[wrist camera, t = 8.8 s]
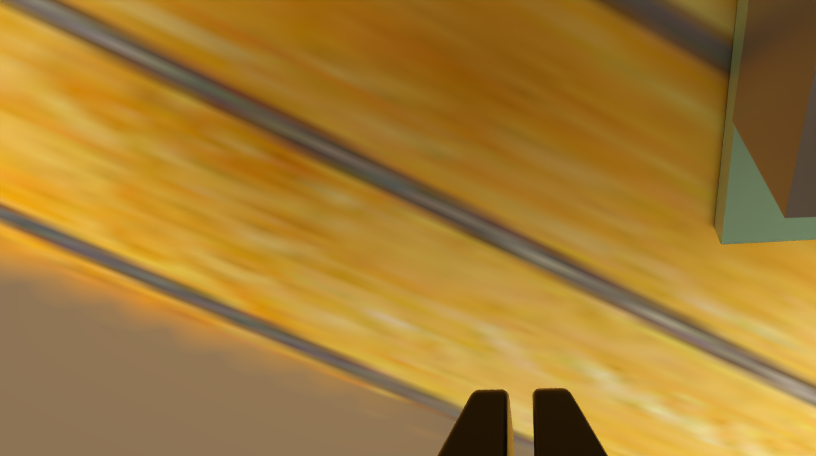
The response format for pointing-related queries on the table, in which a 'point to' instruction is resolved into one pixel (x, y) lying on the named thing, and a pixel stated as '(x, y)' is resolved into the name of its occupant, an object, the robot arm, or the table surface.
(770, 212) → the board
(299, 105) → the table surface
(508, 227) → the table surface
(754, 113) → the plug
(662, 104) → the table surface
